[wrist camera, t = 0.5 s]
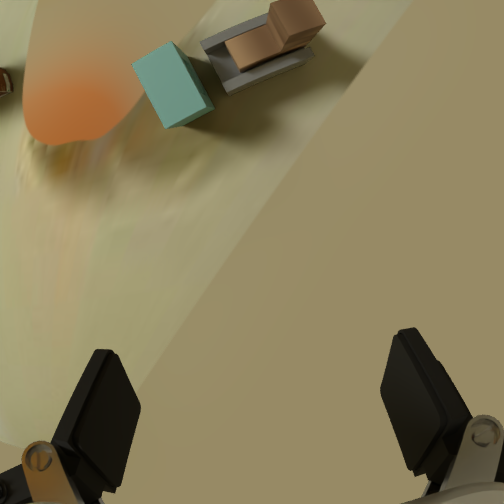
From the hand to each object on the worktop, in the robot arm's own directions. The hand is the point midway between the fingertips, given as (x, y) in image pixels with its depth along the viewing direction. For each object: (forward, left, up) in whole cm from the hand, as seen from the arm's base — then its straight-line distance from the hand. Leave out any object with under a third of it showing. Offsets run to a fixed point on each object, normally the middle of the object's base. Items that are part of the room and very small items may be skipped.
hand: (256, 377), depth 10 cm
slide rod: (-8, -13, -25) cm, 29 cm away
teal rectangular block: (+1, -13, -28) cm, 31 cm away
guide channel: (-7, -13, -28) cm, 32 cm away
